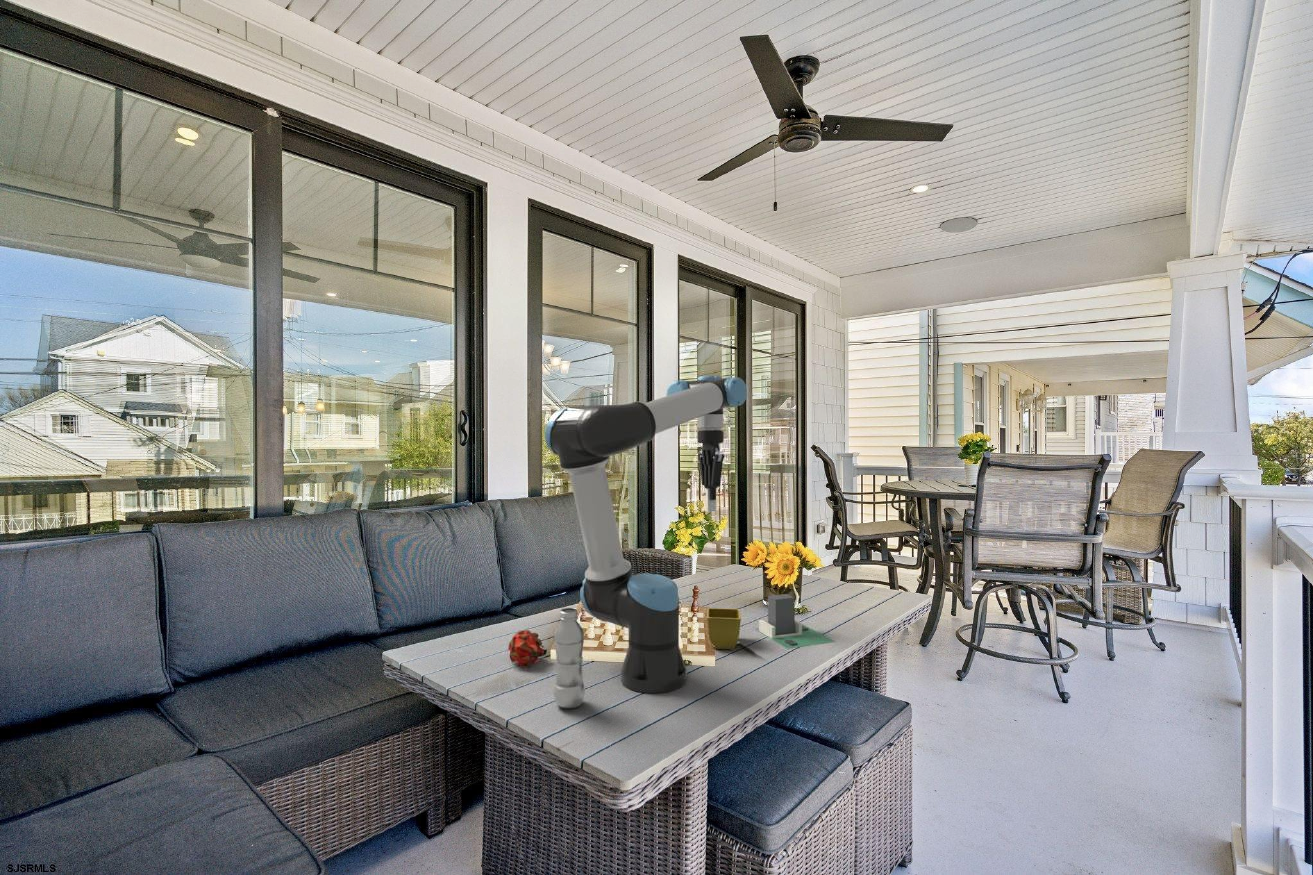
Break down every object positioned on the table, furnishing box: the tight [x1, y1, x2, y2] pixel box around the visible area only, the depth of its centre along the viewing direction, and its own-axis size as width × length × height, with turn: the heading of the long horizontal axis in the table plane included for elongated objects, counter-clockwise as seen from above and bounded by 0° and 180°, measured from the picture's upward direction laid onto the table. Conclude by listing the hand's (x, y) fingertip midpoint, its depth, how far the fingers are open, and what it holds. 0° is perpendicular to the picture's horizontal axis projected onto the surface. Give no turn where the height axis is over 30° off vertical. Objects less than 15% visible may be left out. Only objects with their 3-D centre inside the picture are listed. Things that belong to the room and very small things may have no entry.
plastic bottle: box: [553, 607, 586, 709], centre depth 128 cm, size 6×7×20 cm
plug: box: [767, 593, 796, 636], centre depth 170 cm, size 7×4×10 cm, turn 110°
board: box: [755, 619, 837, 649], centre depth 168 cm, size 15×17×4 cm
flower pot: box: [706, 607, 742, 650], centre depth 162 cm, size 9×9×9 cm
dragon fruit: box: [508, 629, 548, 669], centre depth 151 cm, size 8×8×12 cm
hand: (710, 510), depth 176 cm, fingers closed
